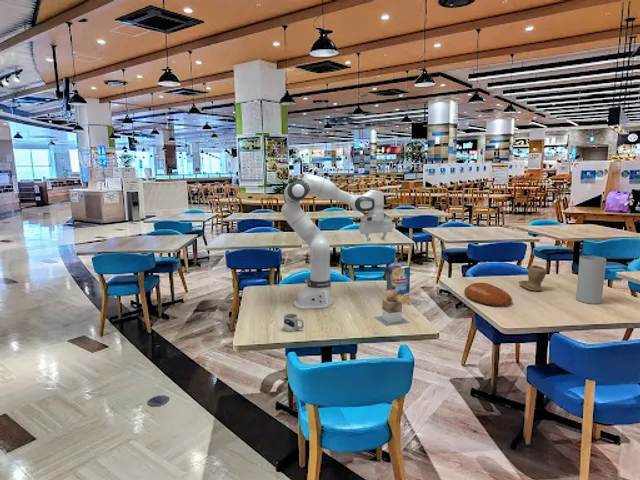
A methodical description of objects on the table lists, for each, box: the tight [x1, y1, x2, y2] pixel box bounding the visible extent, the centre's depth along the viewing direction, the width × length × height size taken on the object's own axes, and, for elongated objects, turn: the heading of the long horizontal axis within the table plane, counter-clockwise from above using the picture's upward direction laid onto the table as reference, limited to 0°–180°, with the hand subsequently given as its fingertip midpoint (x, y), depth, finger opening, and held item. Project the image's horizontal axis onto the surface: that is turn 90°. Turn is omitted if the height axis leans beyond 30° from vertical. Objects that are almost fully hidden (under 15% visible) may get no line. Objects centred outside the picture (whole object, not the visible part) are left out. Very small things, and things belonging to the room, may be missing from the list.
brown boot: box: [518, 264, 547, 292], centre depth 263 cm, size 15×12×15 cm
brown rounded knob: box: [387, 289, 397, 302], centre depth 207 cm, size 5×5×5 cm
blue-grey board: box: [374, 315, 411, 327], centre depth 209 cm, size 13×13×2 cm
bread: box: [463, 282, 513, 307], centre depth 245 cm, size 23×32×9 cm
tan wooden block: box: [381, 298, 403, 313], centre depth 208 cm, size 7×7×5 cm
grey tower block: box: [381, 308, 403, 323], centre depth 209 cm, size 7×7×5 cm
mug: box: [283, 313, 304, 333], centre depth 202 cm, size 10×7×7 cm
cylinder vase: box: [575, 255, 607, 305], centre depth 237 cm, size 12×12×25 cm
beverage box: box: [385, 264, 411, 305], centre depth 235 cm, size 7×11×22 cm, turn 108°
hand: (375, 240), depth 247 cm, fingers open, 8 cm apart
